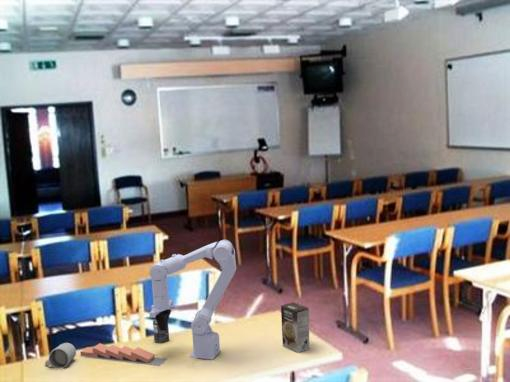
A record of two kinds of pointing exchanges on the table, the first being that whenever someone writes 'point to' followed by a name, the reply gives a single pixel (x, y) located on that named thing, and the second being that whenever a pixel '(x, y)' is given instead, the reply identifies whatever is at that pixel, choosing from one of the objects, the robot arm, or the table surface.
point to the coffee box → (295, 327)
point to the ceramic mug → (61, 355)
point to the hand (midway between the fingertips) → (163, 329)
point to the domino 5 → (142, 355)
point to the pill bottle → (160, 333)
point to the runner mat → (154, 362)
